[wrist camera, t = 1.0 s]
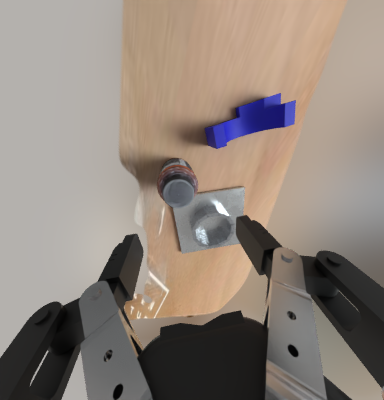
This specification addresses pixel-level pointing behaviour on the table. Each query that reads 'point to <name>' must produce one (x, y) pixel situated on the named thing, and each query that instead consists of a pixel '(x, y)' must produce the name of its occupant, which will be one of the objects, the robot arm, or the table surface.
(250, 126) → the blue notched bracket
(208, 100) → the table surface
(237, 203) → the duct panel
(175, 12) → the table surface
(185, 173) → the supplement bottle
